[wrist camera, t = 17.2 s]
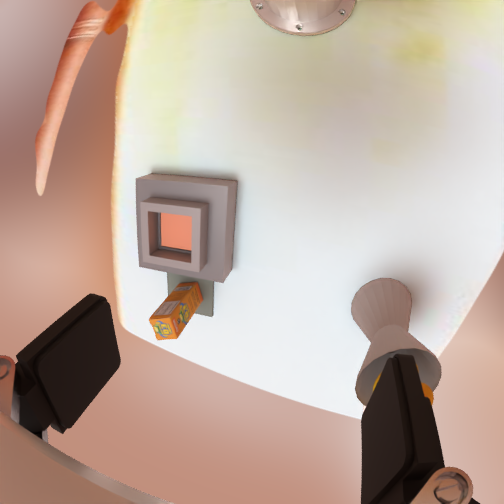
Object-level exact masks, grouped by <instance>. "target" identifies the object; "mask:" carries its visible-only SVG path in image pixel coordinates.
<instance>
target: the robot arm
mask: <svg viewBox="0 0 504 504" xmlns="http://www.w3.org/2000/svg"><path fill="white" fill-rule="evenodd" d="M250 2H251V5H252V7H253V8H254V10H255V12H256V13H257V15H258V16H259V17H260V18H261V19H262V20H263V21H264V22H265V23H266V24H268V25H269V26H271V27H272V28H274V29H277V30H279V31H281V32H284V33H288V34H292V35H300V36H308V35H317V34H323V33H325V32H328V31H331V30H333V29H335V28H336V27H338V26H340V25H341V24H342V23H343V22H344V21H346V20H347V18H348V17H349V16H350V14H351V12H352V10H353V8H354V4H355V0H250ZM261 7H262V9H259V8H261ZM340 13H343V14H344V15H340ZM298 28H301V29H302V30H301V31H298ZM16 357H17V359H18V362H17V363H16V364H15V362H14V360H13V359H12V358H10V357H8V356H3V355H0V504H174V503H171V502H168V501H165V500H162V499H160V498H157V497H154V496H151V495H149V494H146V493H144V492H141V491H139V490H137V489H134V488H132V487H129V486H127V485H125V484H123V483H121V482H118V481H116V480H114V479H112V478H110V477H108V476H106V475H104V474H102V473H99V472H98V471H96V470H94V469H92V468H90V467H88V466H86V465H84V464H82V463H80V462H79V461H77V460H75V459H73V458H71V457H70V456H68V455H66V454H64V453H63V452H61V451H59V450H58V449H56V448H54V447H53V446H51V445H50V444H48V435H47V428H48V427H49V425H51V427H52V428H53V429H55V430H57V431H59V432H60V433H62V434H63V433H64V432H65V430H66V429H67V428H71V427H72V426H73V425H74V423H75V422H76V421H77V420H78V418H79V417H80V416H81V415H82V413H83V412H84V411H85V409H86V408H87V407H88V406H89V404H90V403H91V402H92V401H93V399H94V398H95V397H96V396H97V394H98V393H99V392H100V391H101V389H102V388H103V387H104V386H105V384H106V383H107V382H108V381H109V379H110V378H111V377H112V376H113V374H114V373H115V372H116V371H117V369H118V368H119V366H120V362H121V361H120V360H121V359H120V354H119V350H118V345H117V340H116V335H115V330H114V325H113V319H112V314H111V308H110V304H109V303H108V302H107V300H106V298H105V297H103V296H99V295H96V294H89V295H87V296H86V297H85V298H83V299H82V300H81V301H80V302H78V303H77V304H76V305H75V306H73V307H72V308H71V309H70V310H69V311H68V312H66V313H65V314H64V315H62V317H60V318H59V319H58V320H57V321H55V322H54V323H53V324H52V325H50V326H49V327H48V328H47V329H46V330H45V331H43V332H42V333H41V334H40V335H39V336H38V337H36V339H34V340H33V341H32V342H31V343H30V344H28V345H27V346H26V347H25V348H24V349H23V350H22V351H20V352H19V353H18V354H17V355H16ZM361 429H362V485H361V486H362V488H361V504H480V503H478V502H477V501H475V500H474V499H473V498H471V497H472V494H473V485H472V481H471V479H470V478H469V476H468V475H467V474H466V473H465V472H464V471H462V470H461V469H458V468H455V467H445V465H444V460H443V455H442V449H441V444H440V440H439V435H438V430H437V426H436V422H435V417H434V413H433V409H432V405H431V401H430V399H429V398H428V397H425V396H424V392H423V388H422V384H421V380H420V377H419V373H418V369H417V366H416V362H415V359H414V356H413V355H407V354H395V355H394V356H393V358H390V357H389V358H388V359H387V361H386V364H385V366H384V368H383V371H382V373H381V375H380V378H379V380H378V382H377V384H376V387H375V389H374V391H373V393H372V395H371V397H370V400H369V402H368V404H367V406H366V408H365V410H364V412H363V415H362V420H361Z"/></svg>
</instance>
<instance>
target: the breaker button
mask: <svg viewBox="0 0 504 504" xmlns="http://www.w3.org/2000/svg"><path fill="white" fill-rule="evenodd" d="M161 246H167V247H173V248H179V249H185V250H191V246H192V216H184V215H176V214H168V213H161Z"/></svg>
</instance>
